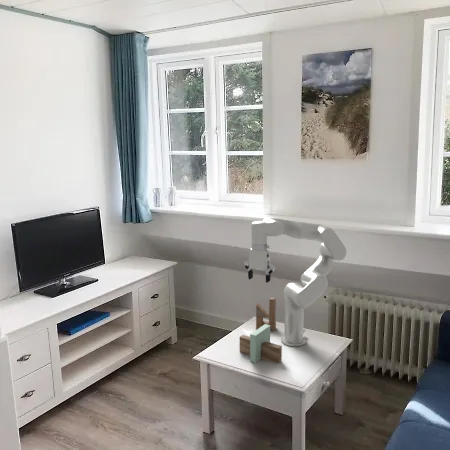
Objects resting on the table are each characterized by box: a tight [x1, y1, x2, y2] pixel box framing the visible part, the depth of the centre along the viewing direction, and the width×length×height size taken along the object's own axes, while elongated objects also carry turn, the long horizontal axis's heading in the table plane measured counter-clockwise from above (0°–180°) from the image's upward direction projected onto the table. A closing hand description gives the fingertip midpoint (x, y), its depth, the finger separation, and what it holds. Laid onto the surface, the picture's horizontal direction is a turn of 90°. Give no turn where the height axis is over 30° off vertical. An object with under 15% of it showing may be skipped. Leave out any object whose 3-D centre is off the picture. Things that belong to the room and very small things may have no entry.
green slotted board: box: [249, 324, 271, 364], centre depth 231 cm, size 14×3×14 cm, turn 145°
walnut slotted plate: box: [239, 334, 283, 365], centre depth 232 cm, size 3×22×8 cm, turn 55°
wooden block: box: [255, 296, 277, 331], centre depth 262 cm, size 4×11×18 cm, turn 80°
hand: (259, 280), depth 234 cm, fingers open, 9 cm apart
